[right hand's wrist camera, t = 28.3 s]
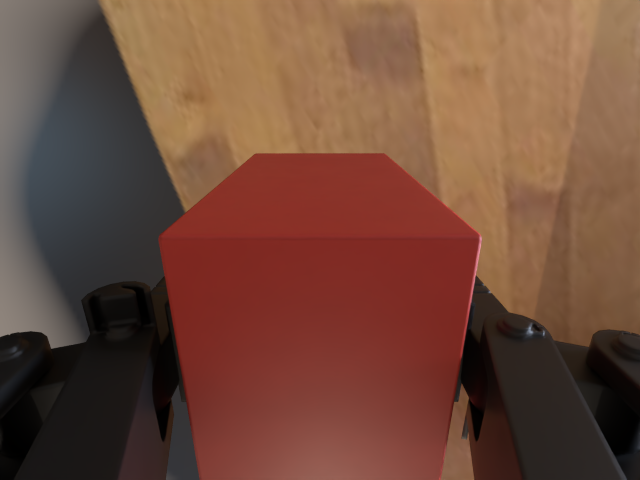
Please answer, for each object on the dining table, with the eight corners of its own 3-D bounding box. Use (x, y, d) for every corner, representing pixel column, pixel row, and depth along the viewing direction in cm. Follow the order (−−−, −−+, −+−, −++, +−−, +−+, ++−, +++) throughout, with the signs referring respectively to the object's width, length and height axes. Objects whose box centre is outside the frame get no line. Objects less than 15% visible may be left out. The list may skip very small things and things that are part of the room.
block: (385, 153, 14) (484, 234, 6) (376, 302, 17) (435, 517, 8) (254, 153, 14) (155, 234, 6) (263, 302, 17) (204, 517, 8)
